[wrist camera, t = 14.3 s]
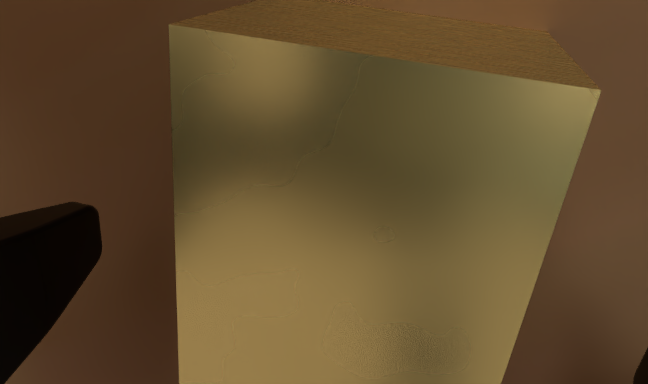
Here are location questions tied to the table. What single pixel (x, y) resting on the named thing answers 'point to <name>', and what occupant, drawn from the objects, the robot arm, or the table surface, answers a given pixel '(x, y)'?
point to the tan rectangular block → (363, 191)
